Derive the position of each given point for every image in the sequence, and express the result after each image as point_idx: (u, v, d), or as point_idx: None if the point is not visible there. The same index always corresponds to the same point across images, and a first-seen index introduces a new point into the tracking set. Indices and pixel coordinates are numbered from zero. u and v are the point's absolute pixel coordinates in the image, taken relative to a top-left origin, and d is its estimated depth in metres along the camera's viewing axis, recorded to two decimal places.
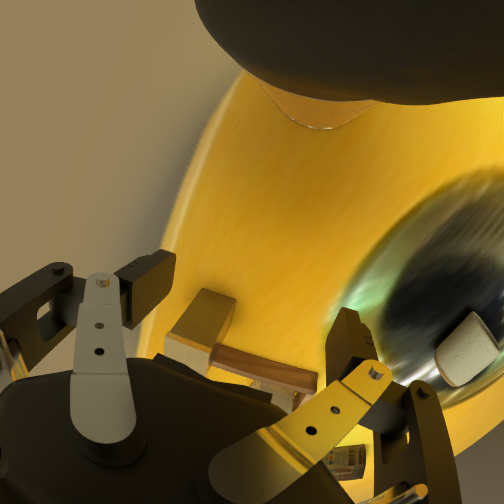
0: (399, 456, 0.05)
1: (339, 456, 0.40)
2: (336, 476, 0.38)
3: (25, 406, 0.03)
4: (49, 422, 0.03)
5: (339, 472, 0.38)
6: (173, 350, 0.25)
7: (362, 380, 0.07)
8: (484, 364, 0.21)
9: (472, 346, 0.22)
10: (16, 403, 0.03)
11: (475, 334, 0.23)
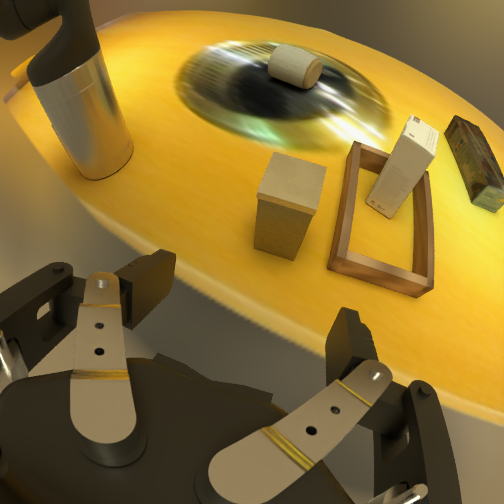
0: (399, 456, 0.05)
1: (456, 140, 0.38)
2: (477, 137, 0.35)
3: (25, 406, 0.03)
4: (49, 422, 0.03)
5: (468, 132, 0.35)
6: (281, 189, 0.21)
7: (362, 380, 0.07)
8: (293, 48, 0.38)
9: (281, 58, 0.39)
10: (16, 403, 0.03)
11: (274, 60, 0.39)
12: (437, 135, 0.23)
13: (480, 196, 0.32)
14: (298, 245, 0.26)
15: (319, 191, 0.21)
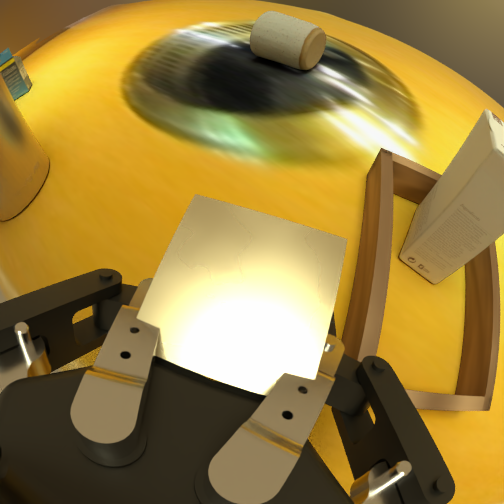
0: (369, 435, 0.06)
1: None
2: None
3: (25, 405, 0.03)
4: (49, 422, 0.03)
5: None
6: (199, 332, 0.06)
7: None
8: (285, 15, 0.25)
9: (268, 27, 0.25)
10: (18, 399, 0.03)
11: (258, 31, 0.26)
12: None
13: None
14: None
15: (321, 335, 0.06)
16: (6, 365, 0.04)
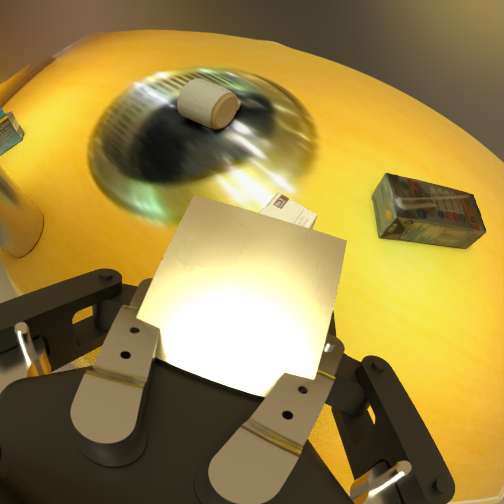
0: (369, 435, 0.06)
1: None
2: (459, 205, 0.32)
3: (25, 405, 0.03)
4: (49, 422, 0.03)
5: (457, 194, 0.33)
6: (198, 334, 0.06)
7: None
8: (202, 83, 0.38)
9: (188, 99, 0.38)
10: (18, 399, 0.03)
11: (181, 102, 0.39)
12: (309, 222, 0.22)
13: (377, 187, 0.36)
14: None
15: (320, 336, 0.06)
16: (6, 365, 0.04)
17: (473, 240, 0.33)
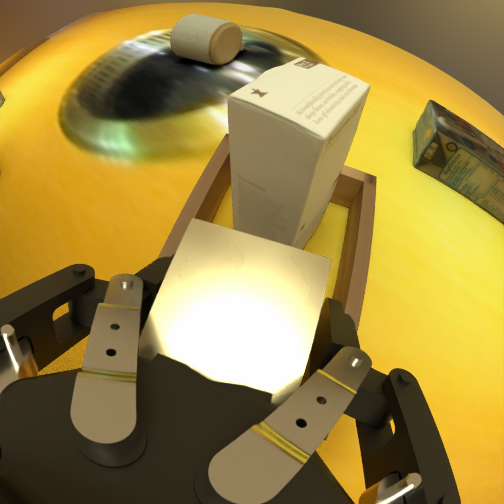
0: (386, 446, 0.06)
1: None
2: None
3: (25, 406, 0.03)
4: (49, 422, 0.03)
5: None
6: (198, 345, 0.07)
7: (339, 365, 0.07)
8: (201, 16, 0.26)
9: (183, 30, 0.26)
10: (16, 401, 0.03)
11: (175, 35, 0.27)
12: (361, 89, 0.10)
13: (420, 117, 0.25)
14: None
15: (306, 347, 0.07)
16: None
17: None
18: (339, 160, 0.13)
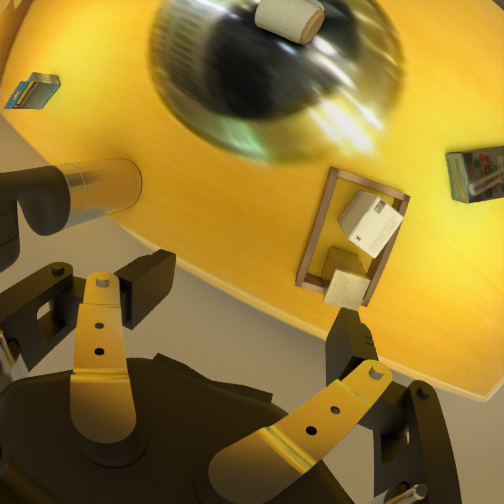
0: (399, 456, 0.05)
1: None
2: None
3: (25, 406, 0.03)
4: (49, 422, 0.03)
5: None
6: (337, 299, 0.33)
7: (362, 380, 0.07)
8: (282, 0, 0.24)
9: (269, 19, 0.27)
10: (16, 403, 0.03)
11: (261, 20, 0.27)
12: (397, 224, 0.27)
13: (452, 155, 0.30)
14: None
15: (360, 300, 0.32)
16: None
17: None
18: None
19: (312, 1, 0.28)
